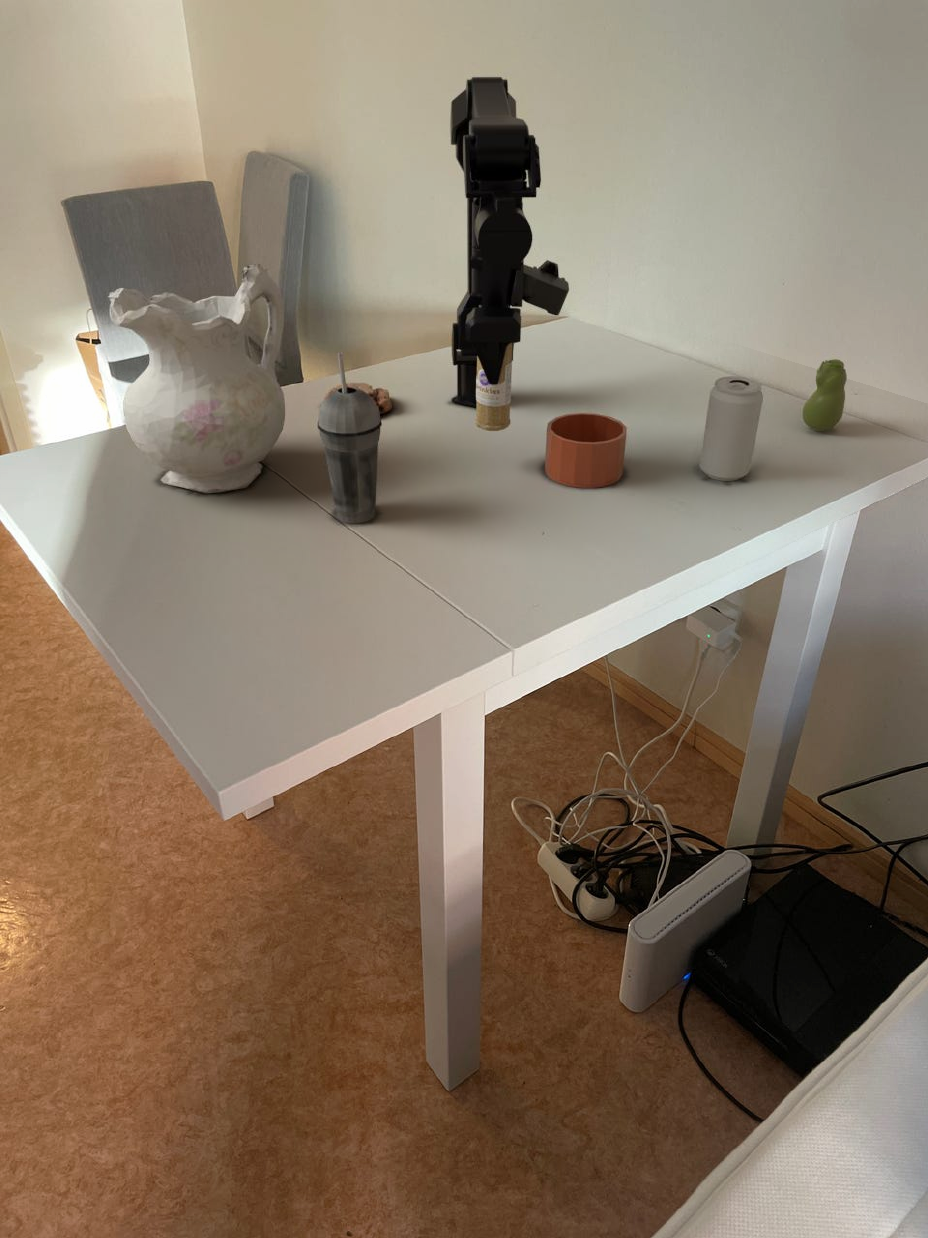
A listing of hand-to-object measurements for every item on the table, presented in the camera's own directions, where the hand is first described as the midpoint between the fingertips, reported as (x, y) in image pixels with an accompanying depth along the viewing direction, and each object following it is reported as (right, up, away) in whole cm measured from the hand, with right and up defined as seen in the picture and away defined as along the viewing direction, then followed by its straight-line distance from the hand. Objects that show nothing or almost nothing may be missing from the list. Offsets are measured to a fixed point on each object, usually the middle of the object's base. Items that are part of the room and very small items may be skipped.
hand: (494, 377), depth 119 cm
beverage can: (+30, -11, +6) cm, 32 cm away
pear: (+47, -3, +18) cm, 50 cm away
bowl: (+12, -11, +6) cm, 17 cm away
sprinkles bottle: (0, -5, +4) cm, 7 cm away
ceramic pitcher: (-35, -11, +6) cm, 37 cm away
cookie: (-19, +1, +24) cm, 31 cm away
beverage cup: (-17, -18, -4) cm, 25 cm away
